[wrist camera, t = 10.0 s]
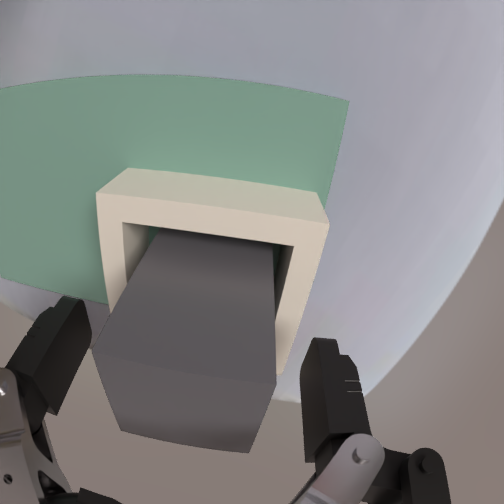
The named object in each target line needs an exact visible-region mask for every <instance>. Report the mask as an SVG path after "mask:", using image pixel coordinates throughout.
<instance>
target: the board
mask: <svg viewBox="0 0 504 504" xmlns="http://www.w3.org/2000/svg"><path fill="white" fill-rule="evenodd" d="M348 106H349V101H346V100H342V99H338V98H334V97H330V96H326V95H321V94H317V93H312V92H307V91H302V90H297V89H292V88H286V87H280V86H274V85H268V84H261V83H254V82H247V81H239V80H230V79H220V78H209V77H195V76H177V75H109V76H91V77H78V78H68V79H59V80H50V81H43V82H36V83H30V84H24V85H18V86H12V87H7V88H2V89H0V275H1V278H4V279H8V280H11V281H15V282H18V283H22V284H26V285H29V286H33V287H37V288H41V289H45V290H48V291H52V292H56V293H60V294H64V295H69V296H73V297H77V298H81V299H86V300H90V301H95V302H99V303H104V304H108V305H109V303H108V297H107V291H106V284H105V278H104V271H103V264H102V256H101V248H100V239H99V229H98V217H97V204H96V192H97V191H99V190H100V189H101V188H102V187H104V186H105V185H106V184H107V183H109V182H110V181H111V180H112V179H114V178H115V177H116V176H118V175H119V174H120V173H122V172H123V171H124V170H126V169H127V168H137V169H149V170H159V171H169V172H178V173H188V174H196V175H204V176H213V177H220V178H228V179H235V180H242V181H249V182H256V183H263V184H269V185H275V186H282V187H288V188H294V189H299V190H305V191H311V192H316V193H317V195H318V197H319V199H320V202H321V204H322V206H323V209H325V205H326V201H327V197H328V193H329V189H330V185H331V181H332V177H333V173H334V169H335V164H336V160H337V156H338V152H339V147H340V143H341V138H342V134H343V129H344V125H345V120H346V115H347V110H348ZM160 228H161V227H156V226H149V246H150V244H151V243H152V241H153V239H154V238H155V236H156V234H157V233H158V231H159V229H160ZM280 247H281V244H277V243H272V249H273V275H274V274H275V269H276V265H277V260H278V256H279V251H280Z"/></svg>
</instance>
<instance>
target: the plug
mask: <svg viewBox="0 0 504 504" xmlns="http://www.w3.org/2000/svg"><path fill="white" fill-rule="evenodd" d="M92 354H93V357H94V360H95V363H96V367H97V370H98V372H99V375H100V378H101V381H102V384H103V387H104V389H105V392H106V395H107V397H108V400H109V402H110V405H111V408H112V410H113V413H114V415H115V417H116V420H117V422H118V425H119V427H120V429H121V431H125V432H128V433H132V434H136V435H140V436H144V437H148V438H153V439H157V440H162V441H167V442H172V443H177V444H182V445H188V446H195V447H200V448H207V449H215V450H222V451H231V452H240V453H249V452H250V449H251V447H252V445H253V442H254V440H255V437H256V435H257V433H258V430H259V428H260V425H261V423H262V420H263V418H264V415H265V413H266V410H267V408H268V405H269V403H270V400H271V397H272V395H273V392H274V390H275V387H276V384H277V383H276V339H275V305H274V275H273V249H272V243H270V242H263V241H256V240H249V239H242V238H235V237H228V236H221V235H214V234H207V233H200V232H193V231H186V230H178V229H171V228H164V227H161V228H160V229H159V231H158V233H157V234H156V236H155V238H154V239H153V241H152V243H151V244H150V246H149V247H148V249H147V251H146V252H145V254H144V256H143V257H142V259H141V261H140V263H139V264H138V266H137V268H136V269H135V271H134V273H133V275H132V276H131V278H130V280H129V282H128V283H127V285H126V287H125V289H124V291H123V292H122V294H121V296H120V298H119V300H118V301H117V303H116V305H115V307H114V309H113V311H112V313H111V314H110V316H109V318H108V320H107V322H106V324H105V326H104V328H103V330H102V332H101V334H100V335H99V337H98V339H97V341H96V343H95V345H94V347H93V349H92Z"/></svg>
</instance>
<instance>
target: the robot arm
mask: <svg viewBox="0 0 504 504" xmlns="http://www.w3.org/2000/svg"><path fill="white" fill-rule="evenodd" d="M91 338H92V331H91V327H90V323H89V319H88V315H87V311H86V307H85V303H84V301H83V300H80V299H76V298H71V297H67V296H63V297H62V298H61V299H60V300H59V301H58V303H57V304H56V306H55V307H54V308H53V307H49V308H48V309H47V310H45V311H44V312H43V313H41V314H40V315H39V316H38V318H37V319H36V321H35V322H34V324H33V325H32V327H31V328H30V329H29V331H28V332H27V336H25V337H24V338H23V340H22V341H21V343H20V345H19V346H18V348H17V349H16V351H15V352H14V354H13V356H12V357H11V359H10V361H9V362H8V364H7V365H6V367H5V368H0V504H122V503H120V502H118V501H116V500H115V499H113V498H110V497H106V496H103V495H100V494H97V493H94V492H92V491H89V490H86V489H83V488H80V491H79V493H73V492H72V490H71V488H70V485H69V483H68V481H67V479H66V477H65V476H64V474H63V472H62V471H61V469H60V467H59V465H58V463H57V460H56V457H55V454H54V451H53V448H52V444H51V441H50V438H49V434H48V430H47V427H46V423H45V420H44V416H45V414H46V412H48V413H51V414H53V415H56V416H57V414H58V412H59V409H60V407H61V405H62V403H63V400H64V398H65V396H66V394H67V391H68V389H69V387H70V385H71V383H72V381H73V379H74V376H75V374H76V372H77V370H78V368H79V366H80V364H81V362H82V360H83V358H84V356H85V354H86V352H87V350H88V348H89V346H90V343H91ZM300 392H301V405H302V419H303V435H304V450H305V462H306V463H309V462H311V463H312V462H315V468H316V472H315V473H314V474H313V475H312V476H311V478H310V479H309V480H308V481H307V483H306V484H305V485H304V486H303V488H302V489H301V490H300V491H299V492H298V494H297V495H296V496H295V497H294V498H293V499H292V501H291V502H290V503H289V504H359V503H360V502H361V501H363V502H367V503H368V504H451V499H450V494H449V488H448V482H447V476H446V471H445V466H444V462H443V460H442V457H441V456H440V455H439V454H438V453H437V452H436V451H435V450H433V449H430V448H420V449H418V450H416V451H415V452H413V453H412V454H407V453H402V452H397V451H392V450H389V449H386V448H384V447H382V445H381V443H380V442H379V441H378V440H377V439H376V438H374V437H373V436H372V434H371V431H370V426H369V421H368V416H367V411H366V407H365V402H364V397H363V393H362V388H361V384H360V383H359V375H358V371H357V367H356V365H355V364H354V363H353V361H352V360H351V358H350V357H349V356H348V355H340V353H339V348H338V344H337V341H336V340H335V339H327V338H315V337H314V338H313V339H312V341H311V344H310V346H309V349H308V351H307V354H306V356H305V358H304V361H303V363H302V366H301V371H300Z"/></svg>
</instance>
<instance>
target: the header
mask: <svg viewBox="0 0 504 504" xmlns="http://www.w3.org/2000/svg"><path fill="white" fill-rule="evenodd" d="M96 204H97V217H98V229H99V239H100V248H101V256H102V264H103V271H104V278H105V284H106V291H107V297H108V303H109V308H110V313H112V311H113V309H114V307H115V305H116V303H117V301H118V300H119V298H120V296H121V294H122V292H123V291H124V289H125V287H126V285H127V283H128V282H129V280H130V278H131V276H132V275H133V273H134V271H135V269H136V268H137V266H138V264H139V263H140V261H141V259H142V257H143V256H144V254H145V252H146V251H147V249H148V247H149V226H156V227H164V228H171V229H178V230H186V231H193V232H200V233H207V234H214V235H221V236H228V237H235V238H242V239H249V240H256V241H263V242H270V243H277V244H281V247H280V251H279V256H278V260H277V265H276V269H275V274H274V305H275V339H276V375H282V372H283V370H284V367H285V364H286V361H287V359H288V356H289V353H290V350H291V347H292V344H293V341H294V339H295V336H296V333H297V330H298V327H299V324H300V321H301V318H302V315H303V312H304V309H305V306H306V303H307V299H308V296H309V293H310V290H311V287H312V284H313V280H314V277H315V274H316V271H317V267H318V264H319V261H320V257H321V254H322V251H323V247H324V244H325V240H326V237H327V233H328V230H329V226H330V223H329V221H328V218H327V216H326V213H325V211H324V209H323V206H322V204H321V202H320V199H319V197H318V195H317V193H316V192H311V191H305V190H299V189H294V188H288V187H282V186H275V185H269V184H263V183H256V182H249V181H242V180H235V179H228V178H220V177H213V176H204V175H196V174H188V173H178V172H169V171H159V170H149V169H137V168H127V169H126V170H124V171H123V172H122V173H120V174H119V175H118V176H116V177H115V178H114V179H112V180H111V181H110V182H109V183H107V184H106V185H105V186H104V187H102V188H101V189H100V190H99V191H97V192H96Z"/></svg>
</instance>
